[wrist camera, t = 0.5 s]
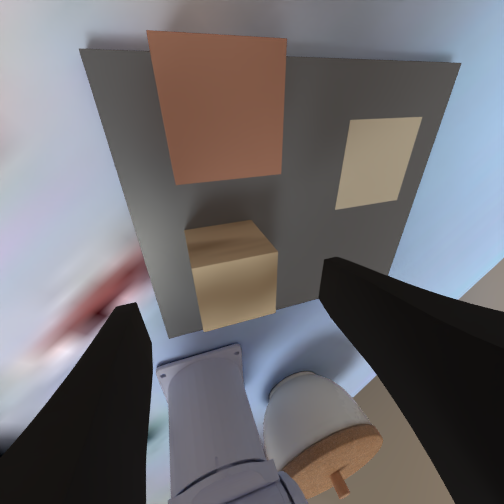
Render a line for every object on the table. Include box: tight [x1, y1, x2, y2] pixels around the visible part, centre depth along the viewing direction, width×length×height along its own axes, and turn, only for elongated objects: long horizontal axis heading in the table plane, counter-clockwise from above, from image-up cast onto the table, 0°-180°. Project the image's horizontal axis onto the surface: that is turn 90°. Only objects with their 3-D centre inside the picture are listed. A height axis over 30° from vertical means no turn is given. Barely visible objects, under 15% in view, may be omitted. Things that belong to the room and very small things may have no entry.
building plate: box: [79, 49, 461, 339], centre depth 18 cm, size 18×22×1 cm
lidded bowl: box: [263, 371, 383, 499], centre depth 28 cm, size 13×13×11 cm
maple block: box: [184, 220, 278, 332], centre depth 15 cm, size 4×4×4 cm
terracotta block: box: [146, 30, 287, 185], centre depth 10 cm, size 4×4×4 cm
